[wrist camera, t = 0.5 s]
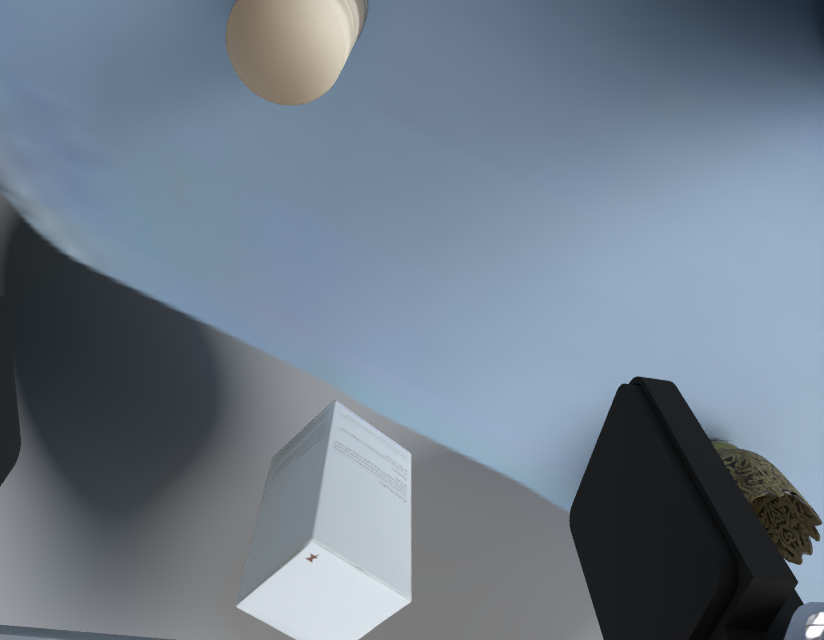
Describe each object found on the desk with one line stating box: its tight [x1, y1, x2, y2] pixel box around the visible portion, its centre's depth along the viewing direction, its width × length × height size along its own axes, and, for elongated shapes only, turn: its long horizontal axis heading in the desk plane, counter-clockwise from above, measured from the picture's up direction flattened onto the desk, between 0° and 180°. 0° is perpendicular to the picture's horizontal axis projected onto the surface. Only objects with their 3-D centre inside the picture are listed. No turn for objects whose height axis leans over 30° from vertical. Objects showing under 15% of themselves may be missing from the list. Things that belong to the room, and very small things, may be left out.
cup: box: [711, 440, 822, 565], centre depth 47 cm, size 8×7×8 cm
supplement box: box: [236, 400, 411, 640], centre depth 45 cm, size 7×7×13 cm
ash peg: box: [226, 0, 368, 105], centre depth 30 cm, size 4×4×14 cm
